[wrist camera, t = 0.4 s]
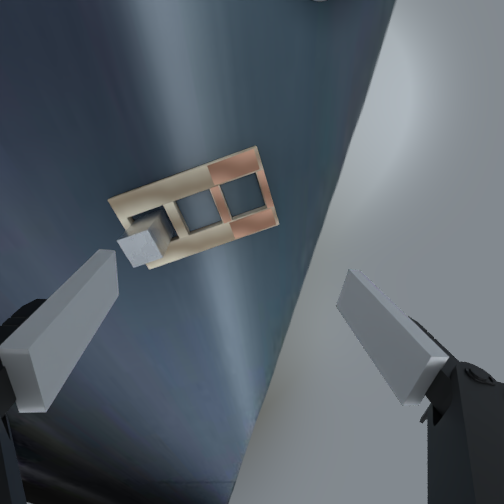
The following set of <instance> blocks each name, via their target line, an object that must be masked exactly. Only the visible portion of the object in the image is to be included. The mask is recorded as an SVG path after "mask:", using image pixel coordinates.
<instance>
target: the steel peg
mask: <svg viewBox="0 0 504 504" xmlns="http://www.w3.org/2000/svg"><path fill="white" fill-rule="evenodd" d="M173 234H174V230H173V229H172V227H171V225H170V223H169V221H168V219H167V217H166V215H165V213H164V211H163V209H161V210H158V211H155V212H152V213H150V214H147V215H144V216H141V217H138V218H137V219H136V220H135V221H134V222H133V224H132V225H131V226H130V227H129V228H128V229H127V230H126V231H125V232H124V233H123V234H122V235H121V237H120V238H119V239H118V240H117V242H118V244H119V245H120V247H121V248H122V250H123V252H124V253H125V255H126V256H127V258H128V260H129V261H130V263H131V264H132V266H133V267H134V268H135V267H138V266H140V265H143V264H146V263H149V262H152V261H155V260H158V259H161V258H163V257H164V254H165V252H166V250H167V248H168V245H169V243H170V241H171V238H172V236H173Z"/></svg>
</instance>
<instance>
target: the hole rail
mask: <svg viewBox="0 0 504 504" xmlns="http://www.w3.org/2000/svg"><path fill="white" fill-rule="evenodd" d="M252 173H256V176H257V179H258V183H259V186H260V189H261V193H262V196H263V199H264V202H265V206H262V207H259V208H256V209H254V210H251V211H248V212H245V213H242V214H239V215H236V216H234V217H232V216H231V213H230V211H229V208H228V205H227V203H226V200H225V197H224V195H223V192H222V189H221V187H220V185H221V184H224V183H226V182H229V181H232V180H235V179H238V178H241V177H243V176H246V175H249V174H252ZM207 189H210V192H211V194H212V197H213V199H214V202H215V204H216V207H217V209H218V212H219V214H220V217H221V219H222V221H219V222H216V223H214V224H211V225H208V226H205V227H202V228H199V229H196V230H194V231H191V232H190V231H189V229H188V227H187V224H186V222H185V220H184V218H183V216H182V214H181V212H180V210H179V208H178V205H177V203H176V200H179V199H181V198H184V197H187V196H190V195H193V194H196V193H198V192H201V191H204V190H207ZM108 202H109V203H110V205H111V207H112V208H113V210H114V212H115V213H116V215H117V217H118V218H119V220H120V222H121V223H122V225H123V227H124V228H125V230H127V229H128V228H129V227H130V226H131V225H132V224H133V222H134V220H133V218H132V217H131V216H134V215H136V214H139V213H142V212H145V211H148V210H151V209H153V208H156V207H159V206H162V205H163V206H164V208H165V210H166V212H167V214H168V216H169V218H170V220H171V222H172V224H173V226H174V228H175V230H176V232H177V234H178V236H177V237H174V238H171V241H170V243H169V245H168V248H167V250H166V252H165V254H164V257H163V258H161V259H158V260H155V261H152V262H149V263H146V265H147V267H148V268H149V270H150V269H153V268H156V267H158V266H161V265H164V264H167V263H170V262H173V261H176V260H179V259H181V258H184V257H187V256H190V255H193V254H196V253H199V252H202V251H205V250H207V249H210V248H213V247H216V246H219V245H222V244H225V243H228V242H230V241H233V240H236V239H239V238H242V237H245V236H248V235H251V234H253V233H256V232H259V231H262V230H265V229H268V228H271V227H274V226H277V225H279V221H278V218H277V214H276V211H275V207H274V204H273V201H272V197H271V194H270V190H269V187H268V183H267V180H266V176H265V173H264V169H263V166H262V163H261V159H260V156H259V152H258V149H257V146H253V147H250V148H247V149H244V150H241V151H239V152H236V153H233V154H230V155H228V156H225V157H222V158H219V159H216V160H214V161H211V162H208V163H205V164H203V165H200V166H197V167H194V168H191V169H189V170H186V171H183V172H180V173H177V174H175V175H172V176H169V177H166V178H164V179H161V180H158V181H155V182H152V183H150V184H147V185H144V186H141V187H139V188H136V189H133V190H130V191H127V192H125V193H122V194H119V195H116V196H113V197H111V198H110V199H108Z"/></svg>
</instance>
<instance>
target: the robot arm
mask: <svg viewBox="0 0 504 504" xmlns="http://www.w3.org/2000/svg"><path fill="white" fill-rule="evenodd" d="M118 295H119V290H118V277H117V265H116V253H115V250H104V249H99V250H98V251H97V252H96V253H95V254H94V255H93V256H92V257H91V258H90V259H89V260H88V261H87V262H85V263H84V264H83V265H82V266H81V267H80V268H79V269H78V270H77V271H76V272H75V273H74V274H73V275H72V276H71V277H70V278H69V279H68V280H67V281H66V282H65V283H64V284H63V285H62V286H61V287H60V288H59V289H58V290H57V291H56V292H55V293H54V294H53V295H52V296H50V297H49V298H48V299H36V300H34V301H32V302H30V303H28V304H26V305H24V306H22V307H21V308H20V309H19V310H18V311H16V312H15V313H14V314H13V315H12V316H11V318H8V319H7V320H6V321H5V322H4V323H3V324H2V326H0V504H27V503H26V499H25V494H24V489H23V485H22V480H21V476H20V471H19V467H18V462H17V458H16V453H15V448H14V444H13V439H12V435H11V430H10V426H9V421H8V418H7V415H6V412H7V411H8V410H9V408H10V407H11V406H12V405H13V403H14V402H15V401H16V404H17V407H18V409H19V412H20V413H24V412H47V410H48V409H49V407H50V405H51V404H52V402H53V400H54V399H55V397H56V396H57V394H58V392H59V391H60V389H61V388H62V386H63V384H64V383H65V381H66V379H67V378H68V376H69V375H70V373H71V371H72V370H73V368H74V367H75V365H76V363H77V362H78V360H79V358H80V357H81V355H82V354H83V352H84V350H85V349H86V347H87V346H88V344H89V342H90V341H91V339H92V337H93V336H94V334H95V333H96V331H97V329H98V328H99V326H100V325H101V323H102V321H103V320H104V318H105V316H106V315H107V313H108V312H109V310H110V308H111V307H112V305H113V304H114V302H115V300H116V299H117V297H118ZM336 307H337V309H338V310H339V312H340V313H341V315H342V316H343V318H344V319H345V320H346V322H347V324H348V325H349V326H350V328H351V330H352V331H353V333H354V334H355V336H356V337H357V339H358V340H359V342H360V343H361V345H362V346H363V348H364V349H365V351H366V352H367V353H368V355H369V356H370V358H371V359H372V361H373V363H374V364H375V366H376V367H377V369H378V370H379V372H380V373H381V374H382V376H383V377H384V379H385V380H386V382H387V383H388V385H389V386H390V388H391V389H392V391H393V392H394V394H395V395H396V397H397V398H398V400H399V401H400V403H401V404H402V406H411V405H413V406H414V405H419V404H420V402H421V401H422V399H423V398H424V396H425V395H426V397H427V398H428V399H429V400H430V402H431V404H430V405H429V407H428V408H427V410H426V411H425V413H424V414H423V416H422V417H421V419H420V422H421V423H423V422H424V421H425V420H426V419H428V425H427V426H428V504H504V383H500V382H497V381H496V380H495V379H494V378H493V377H492V376H491V375H490V374H488V373H487V372H485V371H484V370H483V369H481V368H479V367H477V366H475V365H473V364H470V363H467V362H459V361H458V360H457V359H456V358H455V357H454V356H453V355H452V354H451V353H450V352H449V351H448V350H447V349H446V348H444V347H443V346H442V345H441V344H440V343H439V342H438V341H437V340H436V339H434V337H433V336H432V335H431V334H430V333H429V332H427V330H426V329H425V328H423V326H421V325H420V324H419V323H418V322H417V321H415V320H413V319H412V318H410V317H409V316H407V315H406V314H405V313H404V312H403V311H402V310H400V308H399V307H398V306H397V305H396V304H395V303H394V302H393V301H391V299H389V298H388V297H387V296H386V295H385V294H384V293H383V292H382V291H381V290H380V289H379V288H378V287H377V286H376V285H375V284H374V283H373V282H372V281H371V280H370V279H369V278H368V277H367V276H366V275H365V274H364V273H363V272H362V271H361V270H353V269H349V270H348V273H347V276H346V279H345V281H344V284H343V287H342V290H341V293H340V296H339V299H338V302H337V305H336Z"/></svg>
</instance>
